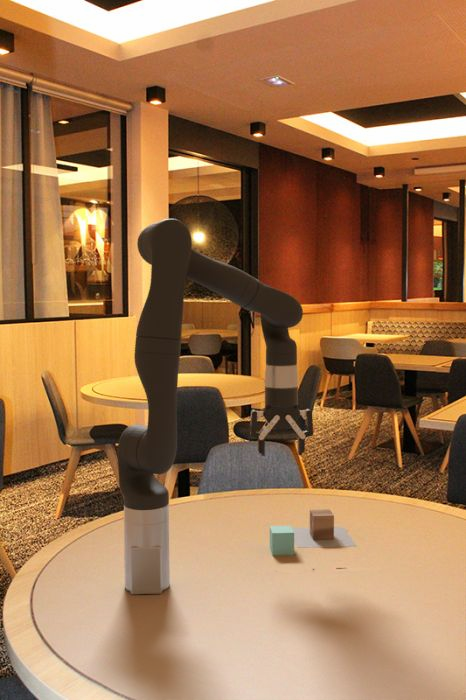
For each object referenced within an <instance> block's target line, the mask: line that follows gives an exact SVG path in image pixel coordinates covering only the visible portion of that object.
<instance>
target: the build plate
mask: <svg viewBox="0 0 466 700" xmlns="http://www.w3.org/2000/svg"><path fill="white" fill-rule="evenodd" d="M292 529H293V531H294V544H295V545H296V547H297V549H298V548H299V549H300V548H302V549H303V548H335V547H339V548H340V547H357V544H356V543H355V541H354V540H353V538H352V537H351V535H350V534H349V532H348V531H347V530H346V528H345V527H344V526H334V540H313V539H312V537H311V535H310V527H292Z"/></svg>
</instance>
